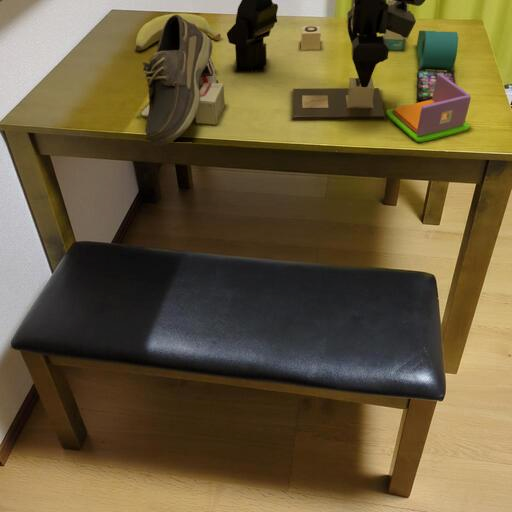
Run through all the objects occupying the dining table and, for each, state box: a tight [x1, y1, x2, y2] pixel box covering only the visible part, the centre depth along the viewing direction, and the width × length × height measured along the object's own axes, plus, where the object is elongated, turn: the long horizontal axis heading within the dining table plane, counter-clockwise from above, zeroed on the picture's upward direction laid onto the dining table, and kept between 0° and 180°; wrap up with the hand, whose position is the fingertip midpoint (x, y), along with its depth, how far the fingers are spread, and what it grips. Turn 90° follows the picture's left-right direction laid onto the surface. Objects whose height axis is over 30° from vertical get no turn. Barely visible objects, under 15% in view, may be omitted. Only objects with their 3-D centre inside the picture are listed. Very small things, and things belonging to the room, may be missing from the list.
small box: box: [194, 82, 226, 126], centre depth 116 cm, size 5×4×8 cm
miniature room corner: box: [386, 74, 472, 143], centre depth 110 cm, size 12×12×7 cm
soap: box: [141, 104, 149, 118], centre depth 121 cm, size 10×4×1 cm, turn 162°
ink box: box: [383, 0, 410, 51], centre depth 137 cm, size 8×5×12 cm, turn 168°
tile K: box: [348, 77, 375, 106], centre depth 117 cm, size 4×4×4 cm
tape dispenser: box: [416, 30, 459, 70], centre depth 130 cm, size 7×15×8 cm, turn 172°
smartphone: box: [416, 67, 456, 103], centre depth 122 cm, size 8×1×15 cm
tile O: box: [300, 25, 322, 51], centre depth 140 cm, size 4×4×4 cm
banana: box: [135, 12, 221, 51], centre depth 145 cm, size 14×6×20 cm
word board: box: [292, 87, 386, 121], centre depth 119 cm, size 18×12×1 cm, turn 87°
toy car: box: [199, 56, 219, 91], centre depth 126 cm, size 8×18×8 cm, turn 10°
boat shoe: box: [141, 15, 213, 147], centre depth 111 cm, size 11×29×11 cm
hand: (362, 76), depth 114 cm, fingers open, 9 cm apart
